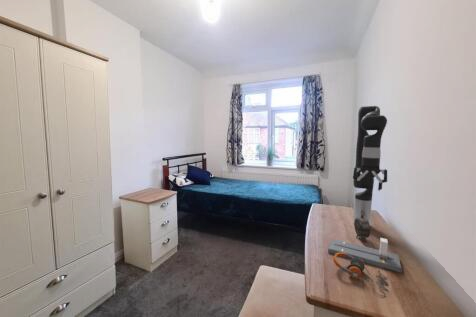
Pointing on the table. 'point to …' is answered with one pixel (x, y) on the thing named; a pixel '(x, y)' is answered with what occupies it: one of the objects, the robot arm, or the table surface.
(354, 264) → the headphones
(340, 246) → the console
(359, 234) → the alarm clock
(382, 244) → the fader
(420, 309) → the table surface
